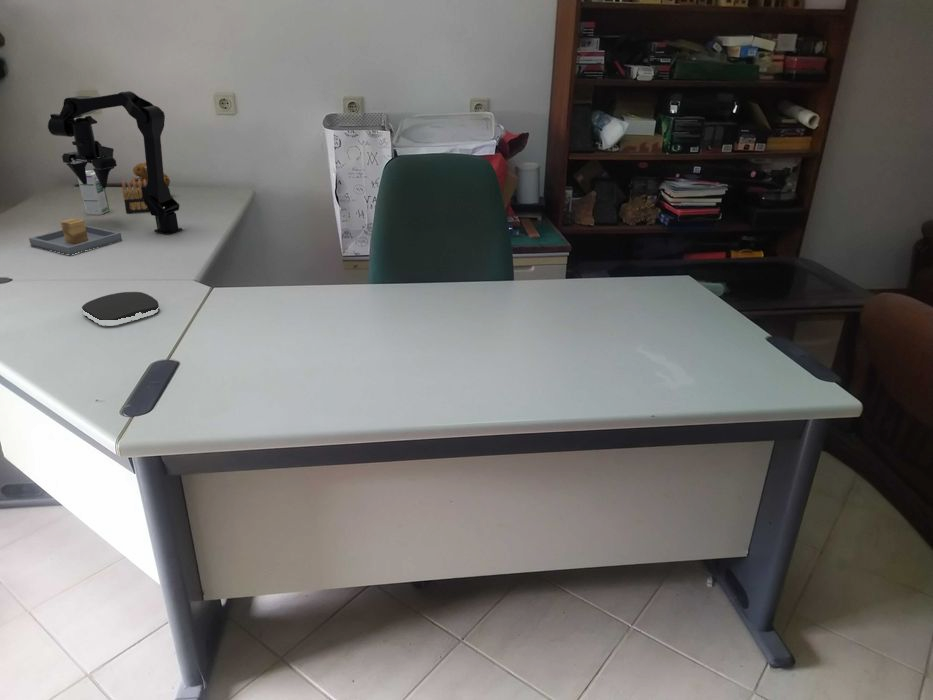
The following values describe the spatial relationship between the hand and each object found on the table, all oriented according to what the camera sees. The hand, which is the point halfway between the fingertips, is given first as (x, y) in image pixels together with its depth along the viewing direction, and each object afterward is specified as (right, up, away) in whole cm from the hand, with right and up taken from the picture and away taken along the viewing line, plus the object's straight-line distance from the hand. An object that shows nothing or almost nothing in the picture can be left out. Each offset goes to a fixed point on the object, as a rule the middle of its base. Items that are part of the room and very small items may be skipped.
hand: (94, 186), depth 219 cm
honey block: (+2, -21, -13) cm, 24 cm away
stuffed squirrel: (0, +6, +41) cm, 42 cm away
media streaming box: (+39, -46, -58) cm, 84 cm away
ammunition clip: (+5, -4, +21) cm, 23 cm away
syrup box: (-9, -5, +18) cm, 21 cm away
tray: (+2, -21, -13) cm, 25 cm away
